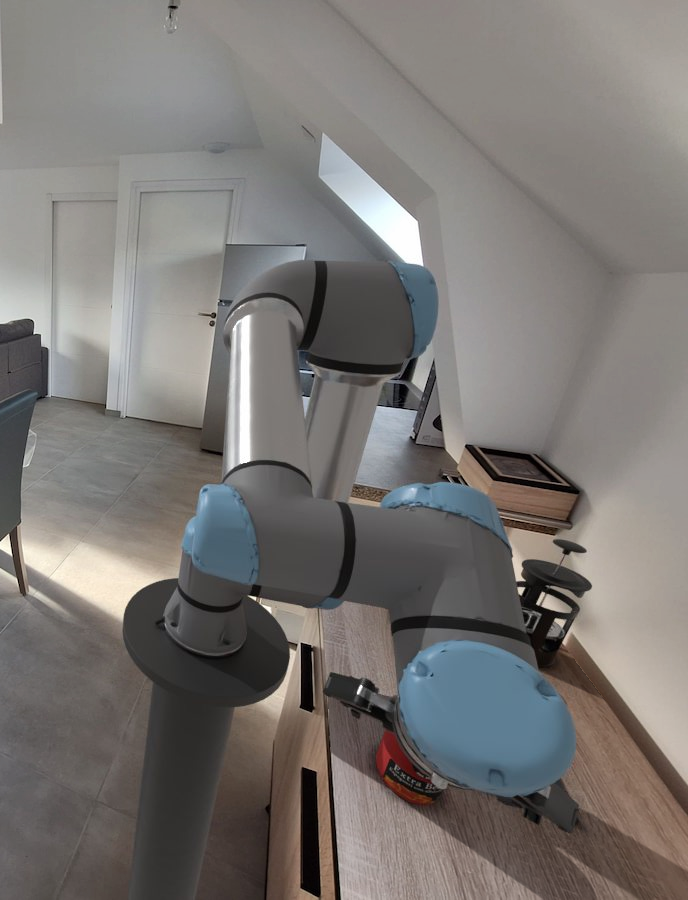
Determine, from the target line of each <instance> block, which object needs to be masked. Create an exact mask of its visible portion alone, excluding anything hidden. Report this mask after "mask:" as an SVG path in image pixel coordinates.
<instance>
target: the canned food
mask: <svg viewBox="0 0 688 900" xmlns="http://www.w3.org/2000/svg"><path fill="white" fill-rule="evenodd" d="M375 763H376V769H377V771H378V774H379V776H380V778H381V779H382V781H383V782H384V784H385V785H386V786H387V787H388V788H389V789H390V790H391V791H392V792H393V793H394V794H396V795H397V796H399V797H400V798H401V799H403V800H405V801H407V802H409V803H412V804H415V805H418V806H430V805H432V804H434V803H435V802H437V801H439V800H440V799H441V797H442V795H443V793H444V791H445V789H440V788H438V787H436V786H435V785H434V784H433V783H432V782H431V780H430V777H428V776H427V775H425V774H424V773H423V772H421V771H420V770H419V769H418V768H417V767H416V766H415V765H414V764H413V763H412V762H411V761H410V760H409V759H408V758H407V756H406V755H405V754H404V752H403V751H402V749H401V747H400V746H399V744H398V742H397V739H396V737H395V735H394V734H393V733H391V732H390V731H388V730H386V729H385V730H384V732H383V735H382V738H381V741H380V743H379V746H378V749H377V751H376V755H375Z"/></svg>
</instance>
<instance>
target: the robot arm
mask: <svg viewBox="0 0 688 900" xmlns="http://www.w3.org/2000/svg"><path fill="white" fill-rule="evenodd" d="M439 301H440V300H439V290H438V286H437V281H436V279H435V277H434V276H433V273H432V272H431V271H430V270H429V269H428V268H427V267H425V266H424V265H421V264H417V263H409V262H398V261H392V260H386V261H367V260H365V261H363V260H359V261H358V260H314V259H298V260H297V259H296V260H292V261H287V262H284V263H281V264H279V265H276V266H273V267H271V268H269V269H267V270H266V271H263V272H261V273H260V274H259V275H257V276H256V277H254V278H252V280H250V282H249V283H247V284H246V285H245V286H244V287H243V288H242V289H241V290H240V291H239V292H238V294H237V295H236V296H235V298H234V299H233V300H232V303H231V304H230V305H229V307H228V310H227V313H226V315H225V318H224V322H223V323H224V324H223V332H222V333H223V334H222V336H223V337H222V338H223V343H224V346H225V349H226V351H227V352H228V353H229V364H228V379H227V393H226V407H225V421H224V423H225V424H224V438H223V449H222V450H223V453H222V463H221V464H222V465H221V477H220V479H221V480H220V482H221V483H220V484H215V483H214V484H212V483H207V484H205V485H203V486H202V487H201V489H200V491H199V493H198V500H197V507H196V513H195V515H194V516H193V517H192V518H191V519H189V521H188V522H187V523H186V526H185V530H184V534H183V538H182V541H181V550H182V551H181V557H180V564H179V571H178V577H177V578H178V585H177V588H176V590H175V592H174V593H173V595H172V597H171V599H170V600H169V602H168V604H167V606H166V608H165V611H164V616H163V617H161V618H159V619H157V620H155V623H156V625H158V624H160V623H162V622H163V626H164V629H165V632H166V634H167V635H168V637H169V638H170V639H171V641H172V642H173V643H174V644H176V645H177V646H178V647H179V648H181V649H182V650H184V651H186V652H188V653H190V654H192V655H195V656H198V657H202V658H207V659H224V658H228V657H231V656H233V655H235V654H237V653H238V652H239V651H240V650H241V649H242V648H243V646H244V644H245V640H246V635H247V626H246V621H245V616H244V611H243V606H242V599H243V595H247V596H249V597H252V598H257V599H263V600H269V601H272V602H273V601H274V602H279V603H283V604H289V605H295V606H299V607H302V608H304V609H307V610H309V609H317V610H324V611H329V610H335V609H337V608H338V607H340V606H341V605H342V604H344V602H348V603H354V604H359V605H366V606H370V607H376V608H381V609H385V610H387V611H388V616H389V621H390V622H389V623H390V632H391V637H392V648H393V656H394V666H395V667H394V668H395V676H396V687H397V694H395V695H392V697H389V696H386V695H383V694H380V693H379V691H380V688H379V687H378V686H376V684H375V683H374V682H373V681H372V680H370V679H369V678H366V677H365V678H364V677H360V678H357V677H354V676H352V675H350V676H349V675H346V674H345V675H344V674H340V673H336V672H333V671H330V672H329V674H328V677H327V680H326V682H325V684H324V687H323V688H322V689H323V690H322V693H323V694H324V695H325V696H326V697H328V698H332V699H334V700H337V701H339V703H340V704H341V705H342V706H343V707H344V708H346V709H348V708H349V709H350V712H351V716H352V717H353V718H355V719H357V720H358V721H360V718H361V716H362V715H364V716H366V717H368V718H371V719H372V720H374V721H376V722H379V723H381V724H382V727H383V728H384V729H385V730H388V731H390V732H391V733H393V734H394V735H395V737H396V739H397V742H398V744H399V746H400V747H401V749H402V751H403V752H404V754H405V755H406V756H407V758H408V759H409V760H410V761H411V762H412V763H413V764H414V765H415V766H416V767H417V768H418V769H419V770H420V771H421V772H423V773H424V774H425V775H427V776H428V777H430V780H431V782H432V783H433V784H434V785H435V786H436V787H438V788H440V789H444V790H446V789H447V788H448V787H450V788H454V789H458V790H465V791H466V790H468V791H476V792H481V793H486V794H490V795H495V796H497V798H496V801H498V802H499V803H501V804H504V805H505V806H506V807H507V806H508V807H513V808H517V809H523V808H524V809H523V812H522V817H523V818H524V819H526V820H527V821H529V822H531V823H532V824H535V825H537V826H539V827H540V826H541V821H542V817H544V818H546V819H547V820H548V821H550V822H551V823H552V824H554V825H555V826H556V827H557V828H558V829H559V830H560V831H563V832H564V833H567V834H573V833H574V830H575V825H576V823H575V821H576V817H578V813H579V809H580V808H579V807H580V804H579V803H578V802H577V801H575V800H574V799H573V798H572V797H571V796H570V795H569V794H568V793H567V792H566V791H565V790H564V791H565V792H564V791H563V790H562V789H561V788H560V787H559V786H558V785H556V784H555V782H556V781H557V780H559V781H560V779H561V778H563V776H565V774H567V772H568V770H569V769H570V768H571V766H572V764H573V761H574V759H575V756H576V751H577V731H576V727H575V723H574V719H573V717H572V715H571V714H572V713H571V712H570V709H569V708H568V706H567V704H566V702H565V701H564V699H563V698H562V696H561V695H560V694H559V692H558V691H557V689H556V688H555V687H554V686H553V685H552V684H551V683H550V682H549V680H548V679H547V678H546V677H545V676H544V675H543V674H542V673H541V672H540V670H539V667H538V665H537V661H536V657H535V652H534V649H533V648H532V647H531V642H530V638H529V636H528V635H527V634H526V629H525V624H524V619H523V614H522V609H521V603H520V598H519V594H520V593H519V587H517V583H516V582H517V577H516V573H515V568H514V563H513V558H514V555H513V554H514V553H513V547H512V546H511V543H510V540H509V537H508V535H507V531H506V528H505V525H504V522H503V519H502V517H501V516H500V513H499V511H498V508H497V506H496V503H495V502H494V501H493V499H492V498H491V497H490V496H488V495H487V494H486V493H485V492H483V491H481V490H479V489H477V488H474V487H472V486H470V485H465V484H461V483H456V482H447V481H437V482H435V483H430V484H428V483H427V484H425V483H422V482H416V483H410V484H407V485H403V486H400V487H398V488H395V489H393V490H391V491H389V492H388V493H386V495H384V497H383V498H382V500H381V501H380V504H379V506H374V505H367V504H359V503H353V502H350V499H351V496H352V492H353V489H354V486H355V482H356V479H357V475H358V472H359V469H360V465H361V462H362V459H363V454H364V451H365V448H366V445H367V442H368V438H369V435H370V432H371V427H372V424H373V420H374V417H375V414H376V411H377V406H378V404H379V400H380V398H381V393H382V389H383V388H384V387H383V386H384V384H386V383H387V382H388V381H390V380H392V379H394V378H396V377H398V376H399V375H401V372H402V369H403V367H404V364H405V363H404V362H405V360H413V359H415V358H419V357H420V356H422V355H423V354H424V353H425V352H426V351H427V348H428V346H429V345H430V344H431V343H432V340H433V337H434V335H435V331H436V327H437V323H438V317H439V305H440V303H439ZM298 351H307V356H306V361H305V363H306V365H307V366H308V367H309V369H310V370H311V372H313V375H314V377H313V383H312V386H311V390H310V395H309V399H308V403H307V408H306V412H305V408H304V397H303V389H302V381H301V372H300V361H299V353H298Z"/></svg>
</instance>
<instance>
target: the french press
mask: <svg viewBox="0 0 688 900" xmlns="http://www.w3.org/2000/svg"><path fill="white" fill-rule="evenodd" d="M552 543H553V544H554V545H555V546H556V547H558V548H560V549H562V551H561V553H562V557H561V559H560V561H559V563H554V562H551V561H548V560H547V561H546V560H541V559H535V558H530V559H524V560H522V562H521V568H522V570H521V572H520V576H521V578H522V579H523V580H516V583H517V588H523V591H522V593H521V594H520V593H519V598H520V603H521V609H522V614H523V619H524V624H525V629H526V634H527V635H528V636H529V638H530V642H531V647H532V648H533V649H534V652H535V657H536V661H537V665H538V668H541V669H546V668H551V667H552V666H553V665H554V664H555V661H556V659H555V658H556V656H557V655H558V653H559V651H560V648H561V646H562V644H563V642H564V640H565V638H566V636H567V634H568V633H569V631H570V628H571V626H573V623H574V621H575V619H576V618H577V616H578V615H579V613H580V611H581V608H580V606H579V604H578V603H577V601H575V600H574V599H572V598H571V597H570V596H568V595H566V594H565V593H563V592H561V591H559V590H557V589H555V588H553V587H556V588H559V589H562V590H567V591H569V592H570V593H572V594H573V595H574V596H575V597H577V598H578V599H581V598H583V597H584V595H585V593H586V592H590V591H591V590H592V588H593V584H592V583H591V582H590V580H588V579H587V578H586V577H585V576H583V574H580V573H578V572H576V571H574V570H573V569H570V568H568V567H565V566H563V563H564V562H565V559H566V557H567V556H570V555H571V554H572V553H575V554H576V553H577V554H585V553H587V551H588V550H587V549H586V548H585V547H584V546H582V545H580V544H578V543H576V542H574V541H571V540H568V539H567V540H566V539H563V538H554V539H553V540H552ZM542 593H543V596H542V598H541V600H540V597H541V595H542ZM548 595H549V596H552V597H554V598H556V599H558V600H559V601H561V602H563V603H564V604H566V605H567V606H568V607H569V608H571V610H570V612H563V611H558V610H553V609H550V608H547V607H544V606H543V604H544V602H545V600H546V599H547V596H548ZM539 600H540V602H539ZM538 602H539V604H537V603H538ZM557 619H558V620H563V621H564V620H565V622H564V624H563V626H561V625H560V624H559V623H557V622H556V621H555V620H557Z"/></svg>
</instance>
